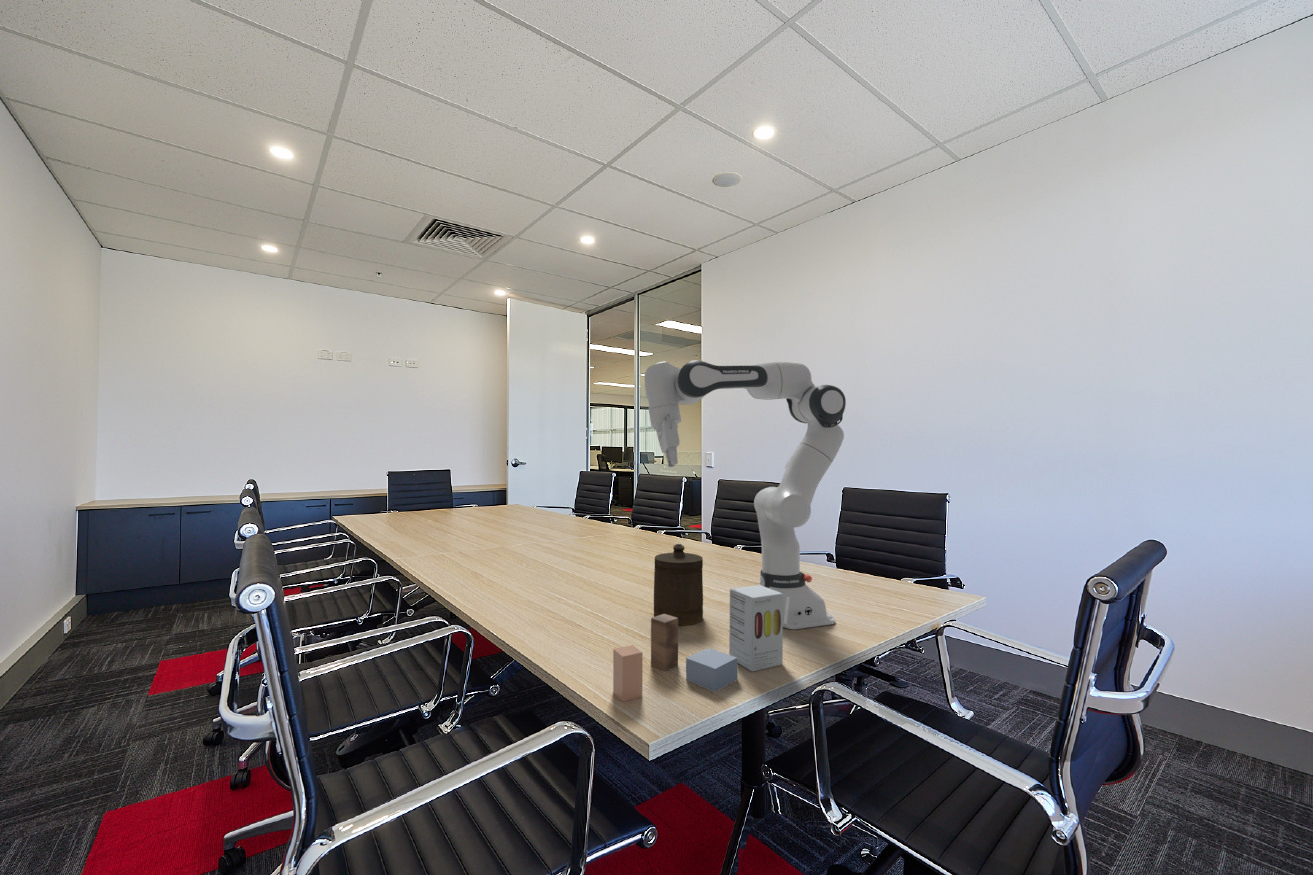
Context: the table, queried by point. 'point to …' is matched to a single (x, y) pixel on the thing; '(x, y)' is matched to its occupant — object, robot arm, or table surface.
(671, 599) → the wooden container
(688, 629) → the table surface
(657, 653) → the walnut post
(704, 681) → the slate block
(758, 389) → the robot arm
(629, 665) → the terracotta post
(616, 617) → the table surface
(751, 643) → the supplement box
